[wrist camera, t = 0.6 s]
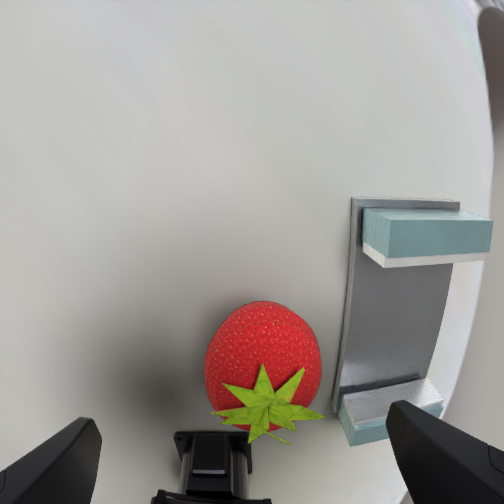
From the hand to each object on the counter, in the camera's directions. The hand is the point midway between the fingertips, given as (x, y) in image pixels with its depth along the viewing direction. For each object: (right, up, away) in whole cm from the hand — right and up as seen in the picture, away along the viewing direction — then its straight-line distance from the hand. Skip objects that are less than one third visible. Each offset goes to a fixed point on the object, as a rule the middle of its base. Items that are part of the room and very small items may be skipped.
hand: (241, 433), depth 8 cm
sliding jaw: (+10, +7, +10) cm, 16 cm away
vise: (+11, +1, +13) cm, 17 cm away
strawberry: (+1, +1, +13) cm, 13 cm away
